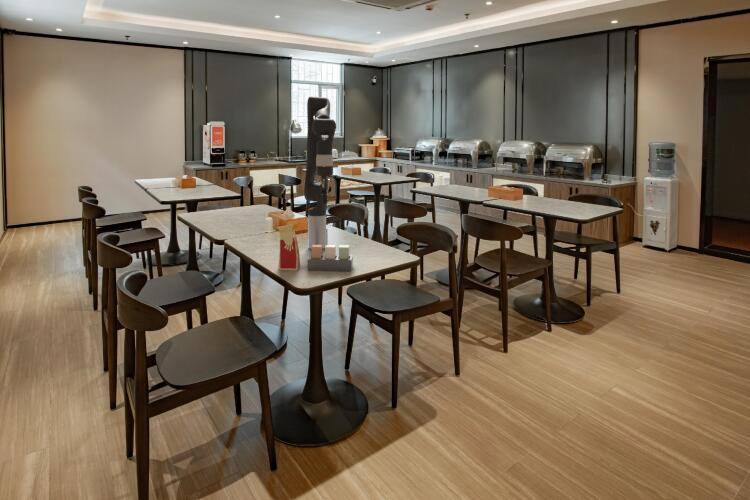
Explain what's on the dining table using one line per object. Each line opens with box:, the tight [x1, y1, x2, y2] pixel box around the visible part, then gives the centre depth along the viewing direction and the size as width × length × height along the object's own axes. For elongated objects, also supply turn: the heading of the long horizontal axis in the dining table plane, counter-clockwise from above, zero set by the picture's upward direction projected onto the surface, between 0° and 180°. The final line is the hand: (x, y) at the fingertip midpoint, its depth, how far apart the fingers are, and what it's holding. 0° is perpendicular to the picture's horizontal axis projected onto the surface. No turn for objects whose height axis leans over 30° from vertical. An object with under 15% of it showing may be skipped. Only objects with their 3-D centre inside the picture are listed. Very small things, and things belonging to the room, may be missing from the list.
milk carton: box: [276, 223, 301, 271], centre depth 223 cm, size 9×9×20 cm
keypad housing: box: [307, 253, 354, 272], centre depth 225 cm, size 19×9×5 cm, turn 89°
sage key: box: [338, 244, 350, 259], centre depth 224 cm, size 4×4×7 cm
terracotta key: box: [310, 245, 323, 259], centre depth 224 cm, size 4×4×7 cm
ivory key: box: [324, 244, 337, 259], centre depth 224 cm, size 4×4×7 cm
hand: (325, 203), depth 233 cm, fingers closed
